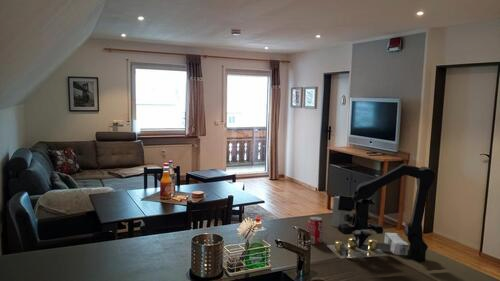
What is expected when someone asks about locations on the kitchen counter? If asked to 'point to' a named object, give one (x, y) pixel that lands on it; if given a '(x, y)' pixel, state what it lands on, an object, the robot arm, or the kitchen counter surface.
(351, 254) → the base plate
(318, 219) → the soda can
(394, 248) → the syrup box
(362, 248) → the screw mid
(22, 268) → the kitchen counter surface
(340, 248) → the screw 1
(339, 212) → the skincare box
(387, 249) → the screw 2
